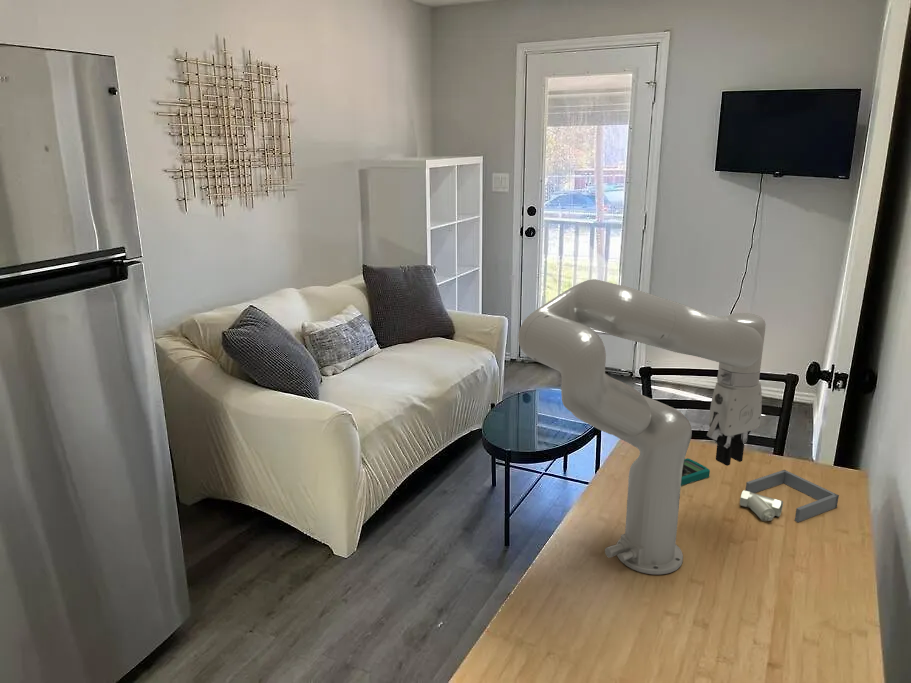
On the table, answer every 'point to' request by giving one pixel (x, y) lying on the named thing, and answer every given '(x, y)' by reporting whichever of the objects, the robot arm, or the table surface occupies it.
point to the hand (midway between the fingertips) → (728, 460)
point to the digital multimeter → (693, 472)
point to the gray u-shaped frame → (823, 496)
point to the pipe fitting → (761, 505)
